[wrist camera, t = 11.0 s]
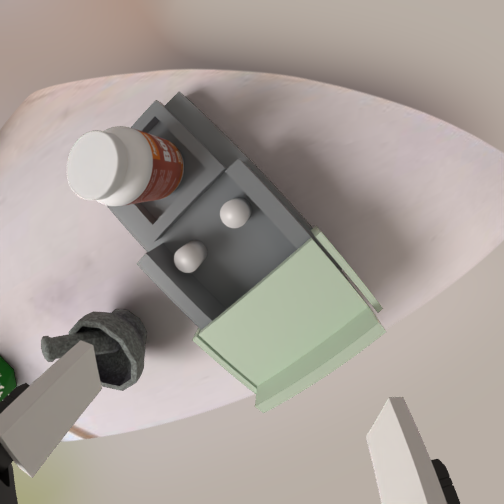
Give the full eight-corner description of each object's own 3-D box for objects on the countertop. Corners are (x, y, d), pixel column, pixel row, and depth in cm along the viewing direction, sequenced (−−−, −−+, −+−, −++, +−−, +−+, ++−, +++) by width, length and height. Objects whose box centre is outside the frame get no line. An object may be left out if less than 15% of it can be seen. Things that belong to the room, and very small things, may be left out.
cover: (200, 324, 28) (182, 358, 22) (315, 225, 24) (328, 239, 18) (260, 378, 29) (256, 416, 23) (372, 295, 25) (395, 324, 20)
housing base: (101, 186, 29) (70, 190, 23) (182, 94, 26) (161, 76, 20) (244, 337, 32) (238, 368, 26) (340, 261, 29) (355, 280, 23)
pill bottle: (198, 157, 25) (146, 143, 15) (165, 211, 27) (102, 230, 16) (150, 128, 25) (83, 105, 14) (121, 180, 27) (48, 184, 16)
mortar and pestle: (170, 327, 33) (129, 388, 21) (145, 371, 35) (108, 429, 23) (99, 276, 32) (37, 315, 20) (82, 325, 34) (32, 369, 23)
